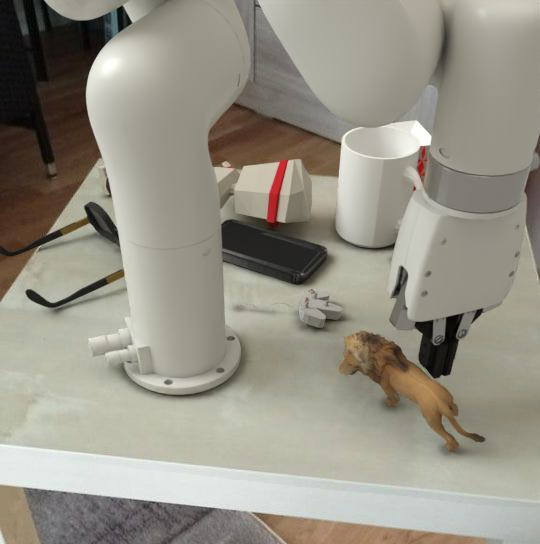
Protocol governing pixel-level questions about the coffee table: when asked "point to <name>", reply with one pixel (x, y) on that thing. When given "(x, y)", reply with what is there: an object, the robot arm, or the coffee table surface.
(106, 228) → the sunglasses
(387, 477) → the coffee table surface
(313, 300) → the game controller
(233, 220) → the phone
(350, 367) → the lion figurine
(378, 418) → the coffee table surface
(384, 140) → the mug
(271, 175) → the toy
